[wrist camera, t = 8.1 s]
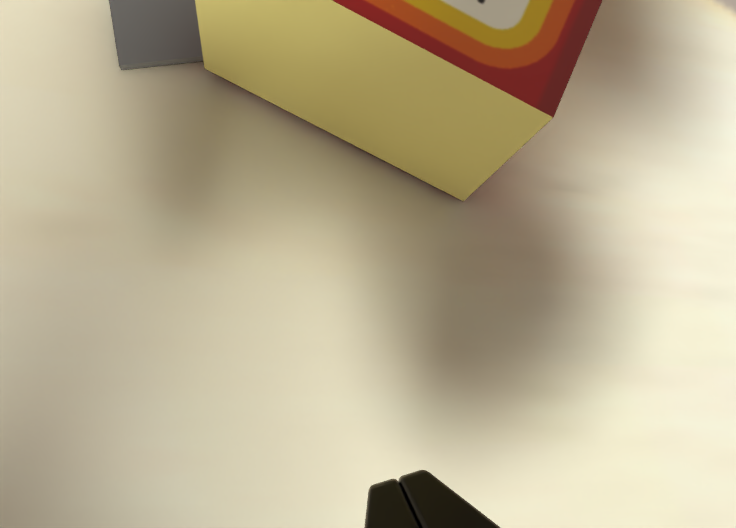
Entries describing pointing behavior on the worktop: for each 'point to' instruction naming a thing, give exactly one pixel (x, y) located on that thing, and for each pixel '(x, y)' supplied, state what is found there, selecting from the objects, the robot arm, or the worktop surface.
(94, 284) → the worktop surface
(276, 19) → the baking soda box
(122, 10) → the mat
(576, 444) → the worktop surface
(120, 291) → the worktop surface
